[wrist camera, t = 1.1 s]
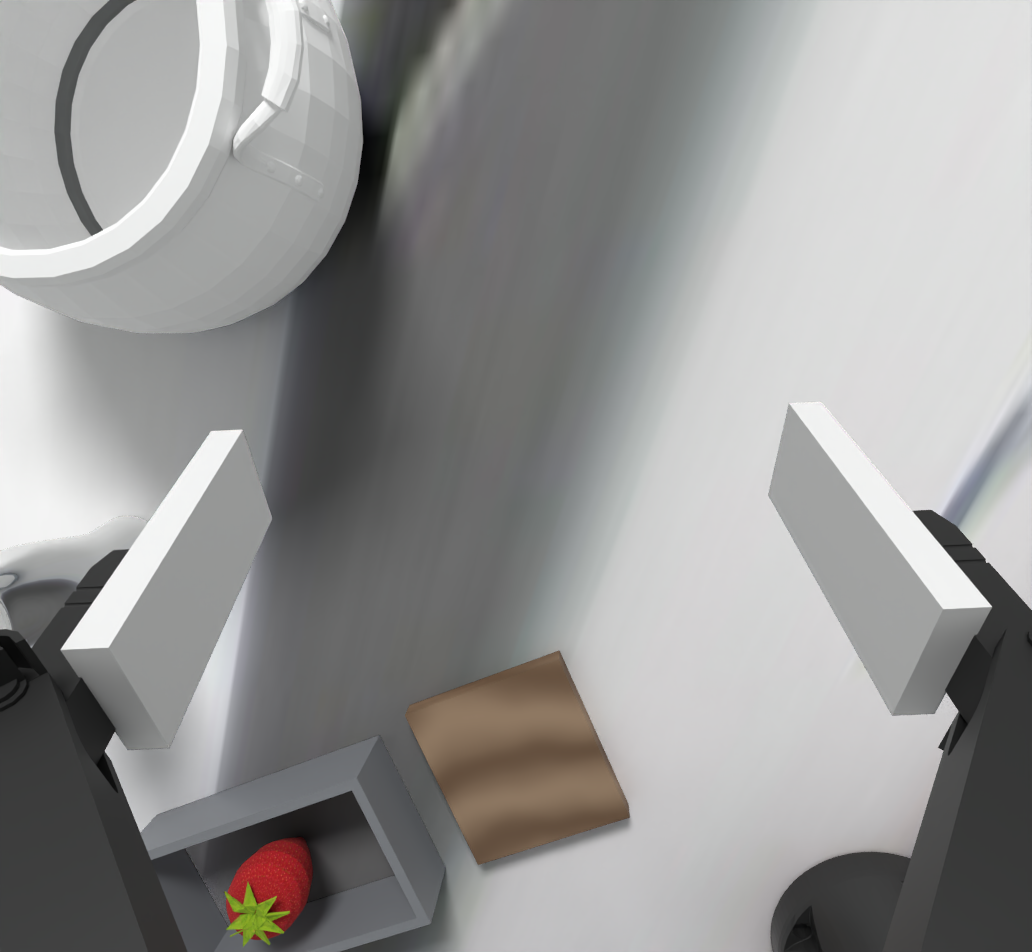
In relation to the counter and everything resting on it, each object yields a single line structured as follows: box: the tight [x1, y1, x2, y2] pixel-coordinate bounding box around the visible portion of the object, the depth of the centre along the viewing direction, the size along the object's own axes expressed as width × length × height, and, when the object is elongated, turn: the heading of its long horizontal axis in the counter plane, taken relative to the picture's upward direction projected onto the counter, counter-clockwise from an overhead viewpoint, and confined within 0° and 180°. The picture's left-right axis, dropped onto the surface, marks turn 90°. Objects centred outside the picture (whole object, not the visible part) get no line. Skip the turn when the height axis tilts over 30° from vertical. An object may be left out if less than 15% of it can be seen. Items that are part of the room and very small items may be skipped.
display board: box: [405, 651, 630, 865], centre depth 51 cm, size 14×13×2 cm
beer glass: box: [0, 516, 148, 648], centre depth 45 cm, size 7×7×15 cm
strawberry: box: [224, 837, 313, 947], centre depth 51 cm, size 6×8×10 cm
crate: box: [140, 735, 446, 952], centre depth 53 cm, size 13×22×6 cm, turn 114°
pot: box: [0, 0, 363, 333], centre depth 38 cm, size 29×26×17 cm
